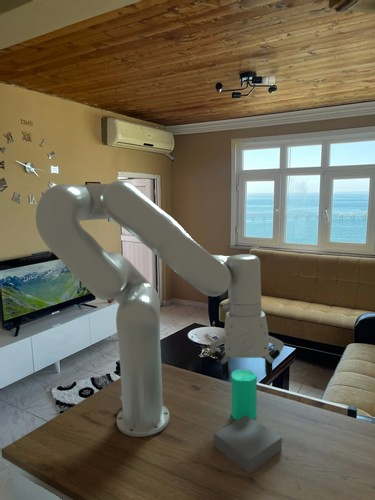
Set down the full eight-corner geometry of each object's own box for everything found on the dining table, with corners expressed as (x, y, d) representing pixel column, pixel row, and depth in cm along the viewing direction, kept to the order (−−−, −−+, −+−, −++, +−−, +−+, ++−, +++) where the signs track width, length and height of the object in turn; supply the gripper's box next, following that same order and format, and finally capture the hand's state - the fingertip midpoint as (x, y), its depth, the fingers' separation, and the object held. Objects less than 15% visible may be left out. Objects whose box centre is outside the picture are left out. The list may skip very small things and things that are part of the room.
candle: (256, 424, 84) (256, 376, 83) (230, 421, 86) (230, 374, 84) (256, 409, 90) (256, 364, 88) (232, 406, 91) (232, 362, 90)
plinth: (214, 446, 77) (213, 433, 77) (246, 427, 83) (246, 415, 83) (249, 473, 69) (249, 459, 69) (281, 450, 76) (281, 437, 75)
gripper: (207, 314, 81) (210, 384, 84) (285, 312, 79) (287, 384, 82) (208, 303, 88) (211, 369, 91) (280, 301, 87) (281, 368, 89)
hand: (247, 376), depth 86 cm, fingers open, 9 cm apart
